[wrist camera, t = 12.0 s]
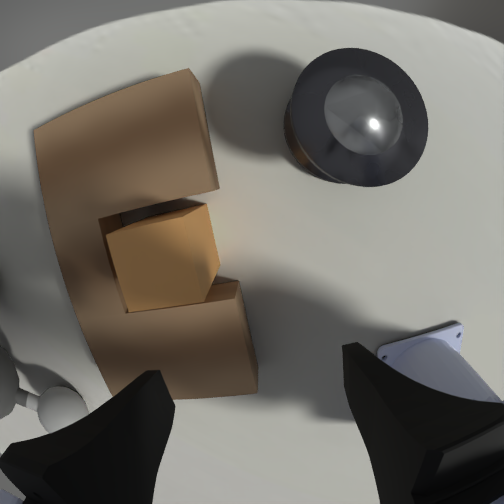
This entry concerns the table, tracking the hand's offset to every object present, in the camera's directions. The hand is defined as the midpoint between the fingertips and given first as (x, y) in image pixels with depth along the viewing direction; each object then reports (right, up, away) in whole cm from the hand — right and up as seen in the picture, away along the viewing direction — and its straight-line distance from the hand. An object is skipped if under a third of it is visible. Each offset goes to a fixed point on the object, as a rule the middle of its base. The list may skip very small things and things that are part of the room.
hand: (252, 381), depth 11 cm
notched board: (-7, +5, +9) cm, 12 cm away
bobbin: (+5, +13, +6) cm, 15 cm away
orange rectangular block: (-4, +6, +8) cm, 11 cm away
